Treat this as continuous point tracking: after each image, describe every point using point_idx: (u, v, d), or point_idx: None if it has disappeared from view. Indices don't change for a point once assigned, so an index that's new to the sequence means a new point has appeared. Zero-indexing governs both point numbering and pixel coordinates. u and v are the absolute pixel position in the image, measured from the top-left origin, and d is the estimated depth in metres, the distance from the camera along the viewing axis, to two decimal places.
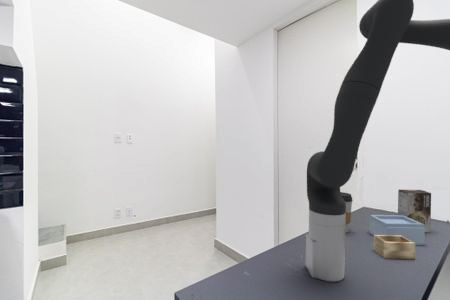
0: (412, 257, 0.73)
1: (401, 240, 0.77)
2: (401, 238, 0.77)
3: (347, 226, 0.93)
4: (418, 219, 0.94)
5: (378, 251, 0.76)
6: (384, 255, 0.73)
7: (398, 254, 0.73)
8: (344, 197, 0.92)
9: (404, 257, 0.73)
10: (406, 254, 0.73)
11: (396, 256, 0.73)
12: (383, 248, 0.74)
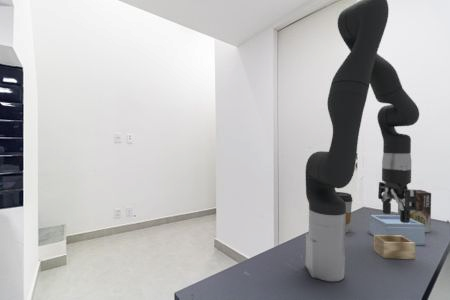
0: (412, 257, 0.73)
1: (401, 240, 0.77)
2: (401, 238, 0.77)
3: (347, 226, 0.93)
4: (418, 219, 0.94)
5: (378, 251, 0.76)
6: (384, 255, 0.73)
7: (398, 254, 0.73)
8: (344, 197, 0.92)
9: (404, 257, 0.73)
10: (406, 254, 0.73)
11: (396, 256, 0.73)
12: (383, 248, 0.74)
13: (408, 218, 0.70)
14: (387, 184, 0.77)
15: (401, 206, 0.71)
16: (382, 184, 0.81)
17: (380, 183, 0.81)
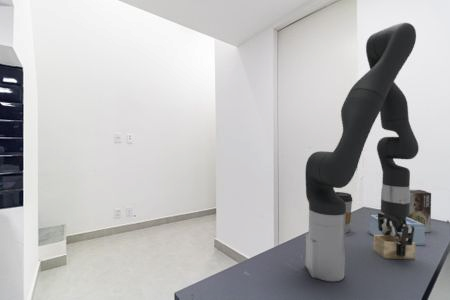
0: (412, 257, 0.73)
1: None
2: None
3: (347, 226, 0.93)
4: (418, 219, 0.94)
5: (378, 251, 0.76)
6: (384, 255, 0.73)
7: None
8: (344, 197, 0.92)
9: (404, 257, 0.73)
10: (406, 254, 0.73)
11: (396, 256, 0.73)
12: (383, 248, 0.74)
13: (404, 252, 0.71)
14: (385, 214, 0.78)
15: (397, 240, 0.72)
16: (381, 215, 0.81)
17: (379, 214, 0.81)
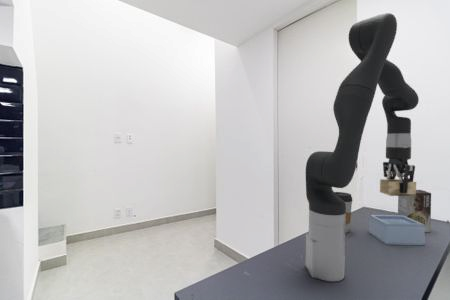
0: (413, 194, 0.84)
1: None
2: None
3: (347, 226, 0.93)
4: (418, 219, 0.94)
5: (384, 192, 0.88)
6: (389, 193, 0.85)
7: None
8: (344, 197, 0.92)
9: (406, 194, 0.85)
10: (408, 191, 0.85)
11: (399, 193, 0.85)
12: (389, 187, 0.85)
13: (406, 189, 0.83)
14: (390, 161, 0.90)
15: (400, 179, 0.84)
16: (386, 163, 0.93)
17: (384, 163, 0.93)
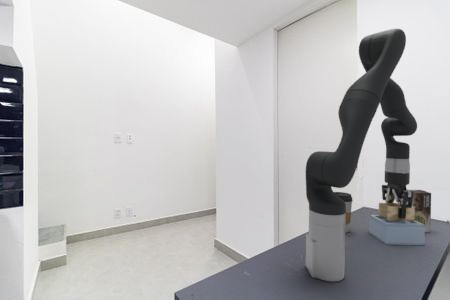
0: (412, 219, 0.85)
1: None
2: None
3: (347, 226, 0.93)
4: (418, 219, 0.94)
5: (382, 216, 0.89)
6: (388, 218, 0.86)
7: None
8: (344, 197, 0.92)
9: (405, 219, 0.85)
10: (406, 216, 0.85)
11: (398, 218, 0.85)
12: (387, 212, 0.86)
13: (404, 214, 0.84)
14: (389, 184, 0.90)
15: (399, 204, 0.84)
16: (384, 186, 0.93)
17: (383, 185, 0.94)
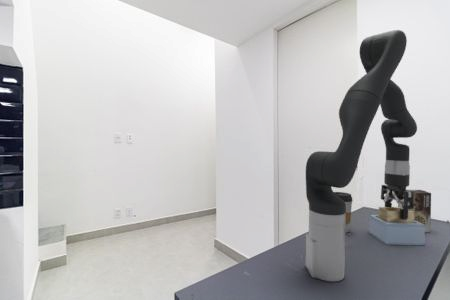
0: None
1: None
2: None
3: (347, 226, 0.93)
4: (418, 219, 0.94)
5: None
6: (387, 222, 0.86)
7: (399, 221, 0.85)
8: (344, 197, 0.92)
9: None
10: (406, 221, 0.85)
11: None
12: (387, 216, 0.86)
13: (406, 216, 0.83)
14: (389, 187, 0.90)
15: (400, 205, 0.84)
16: (384, 187, 0.93)
17: (382, 186, 0.94)
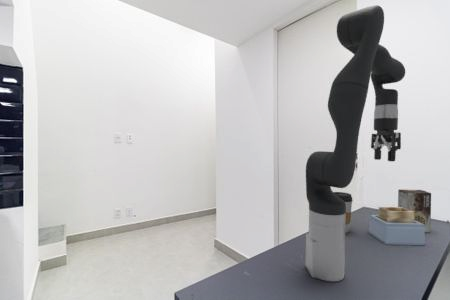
0: None
1: (402, 211, 0.90)
2: (402, 209, 0.90)
3: (347, 226, 0.93)
4: (418, 219, 0.94)
5: None
6: (387, 222, 0.86)
7: (399, 221, 0.85)
8: (344, 197, 0.92)
9: None
10: (406, 221, 0.85)
11: None
12: (387, 216, 0.86)
13: (394, 157, 0.85)
14: (378, 133, 0.92)
15: (388, 147, 0.85)
16: (374, 135, 0.95)
17: (372, 134, 0.96)
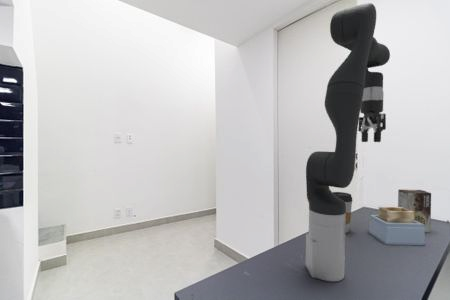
0: None
1: (402, 211, 0.90)
2: (402, 209, 0.90)
3: (347, 226, 0.93)
4: (418, 219, 0.94)
5: None
6: (387, 222, 0.86)
7: (399, 221, 0.85)
8: (344, 197, 0.92)
9: None
10: (406, 221, 0.85)
11: None
12: (387, 216, 0.86)
13: (379, 137, 0.87)
14: (365, 116, 0.95)
15: (374, 128, 0.88)
16: (361, 118, 0.98)
17: (360, 118, 0.98)
